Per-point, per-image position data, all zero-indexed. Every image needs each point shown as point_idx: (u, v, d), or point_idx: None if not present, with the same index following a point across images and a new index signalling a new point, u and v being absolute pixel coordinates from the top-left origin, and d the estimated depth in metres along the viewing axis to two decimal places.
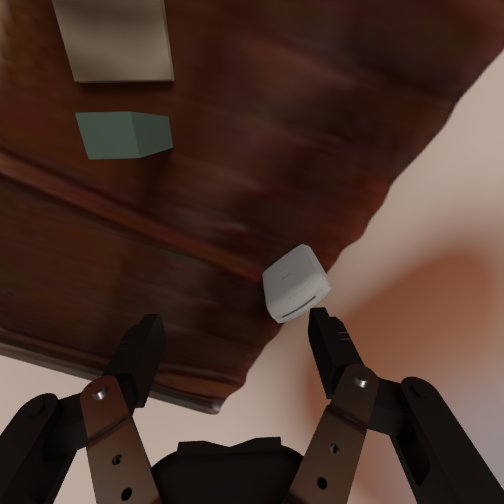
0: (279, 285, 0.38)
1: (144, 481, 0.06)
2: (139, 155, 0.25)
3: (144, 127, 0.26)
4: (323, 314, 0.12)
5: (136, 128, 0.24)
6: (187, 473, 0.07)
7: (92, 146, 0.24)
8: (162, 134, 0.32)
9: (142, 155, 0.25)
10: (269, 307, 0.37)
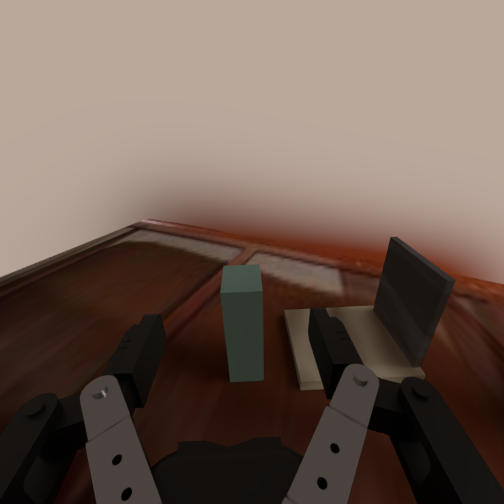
0: None
1: (144, 481, 0.06)
2: (223, 293, 0.24)
3: (249, 316, 0.25)
4: (323, 314, 0.12)
5: (248, 296, 0.24)
6: (187, 473, 0.07)
7: (233, 268, 0.28)
8: (244, 358, 0.28)
9: (222, 299, 0.24)
10: None
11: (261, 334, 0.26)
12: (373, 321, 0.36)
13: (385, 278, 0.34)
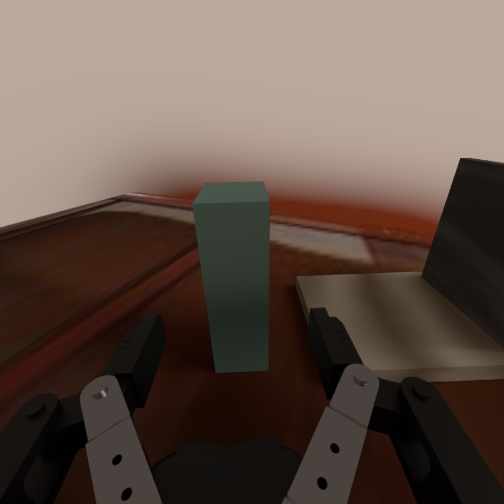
0: None
1: (144, 481, 0.06)
2: (197, 204, 0.13)
3: (245, 253, 0.14)
4: (323, 314, 0.12)
5: (243, 212, 0.13)
6: (187, 473, 0.07)
7: (221, 185, 0.17)
8: (237, 332, 0.17)
9: (197, 218, 0.13)
10: None
11: (266, 289, 0.16)
12: (425, 290, 0.25)
13: (448, 223, 0.23)
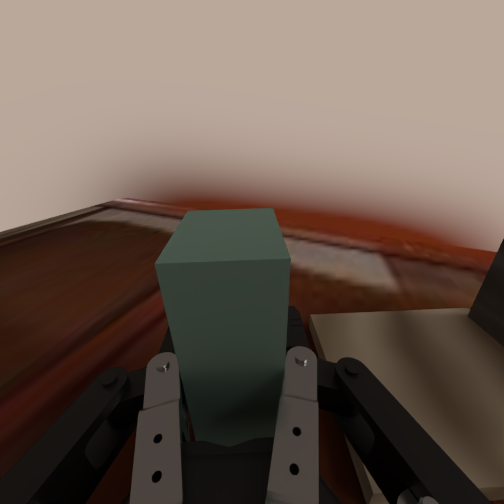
0: None
1: (173, 471, 0.06)
2: (163, 265, 0.07)
3: (248, 335, 0.09)
4: None
5: (244, 276, 0.08)
6: (187, 473, 0.07)
7: (210, 215, 0.11)
8: (234, 433, 0.11)
9: (164, 287, 0.08)
10: None
11: (279, 382, 0.10)
12: (478, 337, 0.19)
13: None
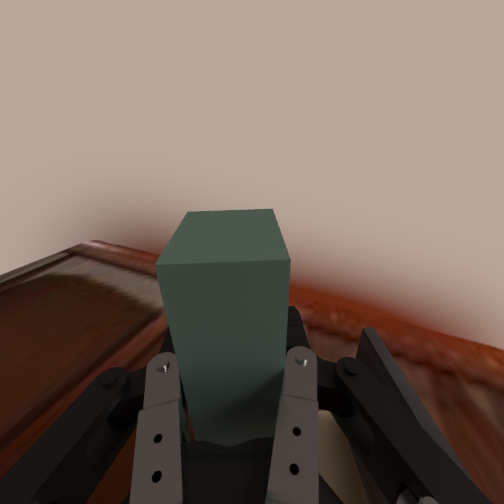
0: None
1: (173, 471, 0.06)
2: (163, 265, 0.07)
3: (248, 336, 0.09)
4: None
5: (244, 278, 0.08)
6: (187, 473, 0.07)
7: (210, 215, 0.11)
8: (234, 434, 0.11)
9: (165, 288, 0.08)
10: None
11: (279, 383, 0.10)
12: (339, 449, 0.22)
13: None
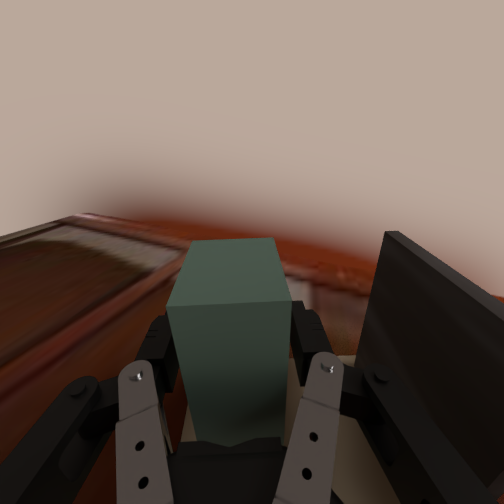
0: None
1: (160, 474, 0.06)
2: (174, 307, 0.08)
3: (252, 366, 0.09)
4: (299, 307, 0.13)
5: (248, 316, 0.08)
6: (187, 473, 0.07)
7: (214, 246, 0.12)
8: None
9: (175, 326, 0.08)
10: None
11: (281, 407, 0.11)
12: None
13: (375, 314, 0.17)
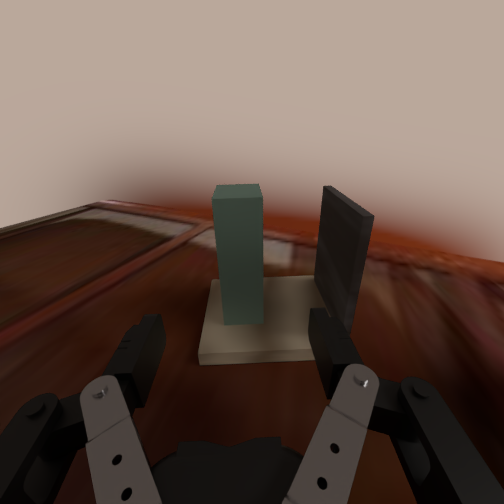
0: None
1: (144, 481, 0.06)
2: (215, 199, 0.20)
3: (246, 233, 0.21)
4: (323, 314, 0.12)
5: (245, 205, 0.20)
6: (187, 473, 0.07)
7: (228, 186, 0.23)
8: (240, 292, 0.24)
9: (214, 209, 0.20)
10: None
11: (261, 259, 0.22)
12: (310, 290, 0.30)
13: (321, 237, 0.29)
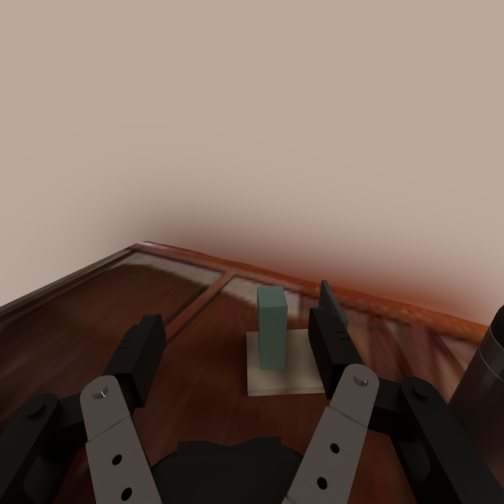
0: None
1: (144, 480, 0.06)
2: (261, 307, 0.35)
3: (277, 322, 0.37)
4: (323, 314, 0.12)
5: (277, 309, 0.36)
6: (187, 473, 0.07)
7: (264, 289, 0.39)
8: (271, 352, 0.39)
9: (260, 312, 0.36)
10: None
11: (284, 335, 0.38)
12: None
13: None
